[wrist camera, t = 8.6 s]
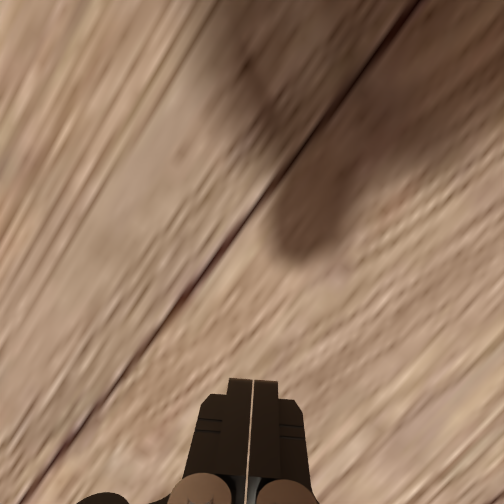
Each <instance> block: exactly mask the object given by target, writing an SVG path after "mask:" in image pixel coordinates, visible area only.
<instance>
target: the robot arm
mask: <svg viewBox="0 0 504 504" xmlns="http://www.w3.org/2000/svg"><path fill="white" fill-rule="evenodd" d="M251 395H252V380H251V379H237V378H229V383H228V389H227V395H221V394H210V395H209V396H208V397H207V399H206V400H205V401H204V402H203V403H202V404H201V407H200V411H199V415H198V420H197V423H196V427H195V432H194V435H193V439H192V443H191V447H190V451H189V455H188V459H187V462H186V466H185V470H184V474H183V477H182V480H181V481H179V482H178V483H177V484H176V485H175V487H174V488H173V490H172V492H171V493H170V494H169V495H168V496H166V497H165V498H163V499H161V500H159V501H156V502H153V503H149V504H244V497H245V483H246V468H247V454H248V440H249V425H250V410H251ZM77 504H129V503H128V502H127V500H126V499H125V498H124V497H122V496H120V495H119V494H115V493H110V492H103V493H97V494H94V495H91V496H89V497H87V498H85V499H83V500H81V501H80V502H78V503H77ZM246 504H319V502H318V501H317V500H316V498H315V496H314V494H313V492H312V488H311V482H310V474H309V465H308V456H307V448H306V441H305V430H304V422H303V413H302V411H301V410H300V408H299V407H298V405H297V404H296V402H295V401H294V400H288V399H278V381H265V380H255V381H254V396H253V410H252V425H251V440H250V456H249V472H248V488H247V503H246Z"/></svg>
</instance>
